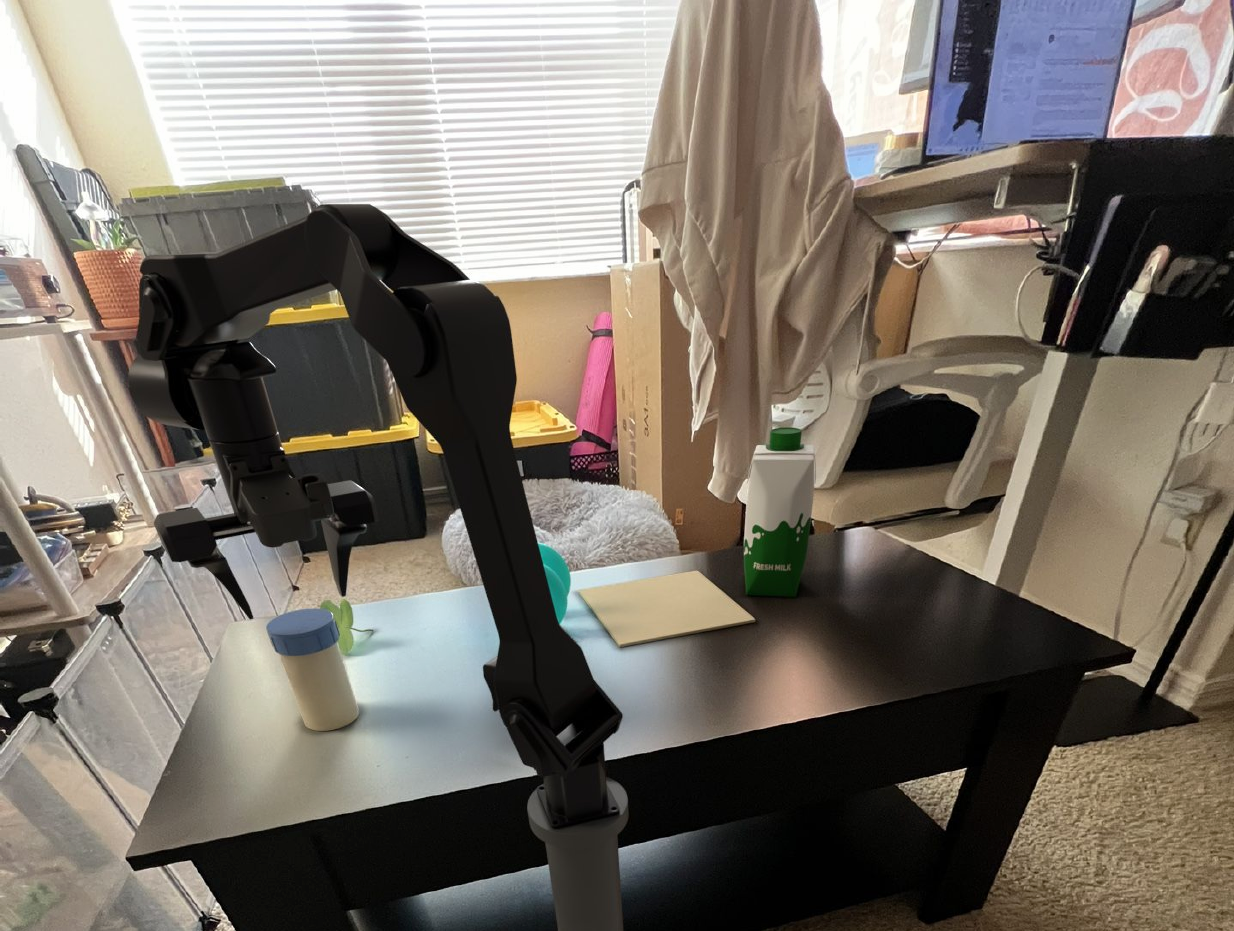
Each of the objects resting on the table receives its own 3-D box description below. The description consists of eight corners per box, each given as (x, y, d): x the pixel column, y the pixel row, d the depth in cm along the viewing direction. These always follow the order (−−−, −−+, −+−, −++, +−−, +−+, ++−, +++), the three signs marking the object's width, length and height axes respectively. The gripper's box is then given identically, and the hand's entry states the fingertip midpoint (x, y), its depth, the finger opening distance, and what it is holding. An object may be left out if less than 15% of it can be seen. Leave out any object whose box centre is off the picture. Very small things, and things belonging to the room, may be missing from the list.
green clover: (369, 673, 100) (330, 667, 95) (346, 625, 102) (307, 617, 96) (401, 643, 97) (364, 635, 91) (378, 594, 99) (339, 583, 93)
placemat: (755, 622, 96) (755, 619, 96) (619, 647, 92) (619, 644, 92) (697, 572, 111) (697, 570, 111) (578, 592, 107) (578, 590, 107)
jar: (360, 724, 80) (330, 631, 73) (303, 735, 79) (268, 641, 72) (358, 699, 84) (330, 609, 77) (305, 709, 83) (271, 618, 76)
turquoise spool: (574, 609, 102) (567, 537, 96) (570, 639, 94) (562, 563, 88) (504, 612, 102) (493, 540, 96) (494, 643, 95) (481, 567, 88)
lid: (285, 630, 78) (278, 610, 77) (346, 626, 78) (340, 606, 77) (264, 658, 73) (256, 636, 72) (330, 654, 73) (323, 632, 72)
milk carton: (803, 576, 107) (820, 426, 95) (802, 600, 101) (820, 441, 88) (743, 575, 109) (753, 427, 97) (738, 598, 102) (748, 442, 90)
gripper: (138, 473, 54) (217, 662, 64) (379, 436, 62) (415, 610, 72) (120, 445, 61) (193, 619, 71) (338, 415, 69) (376, 576, 79)
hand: (298, 606), depth 73 cm, fingers open, 9 cm apart
